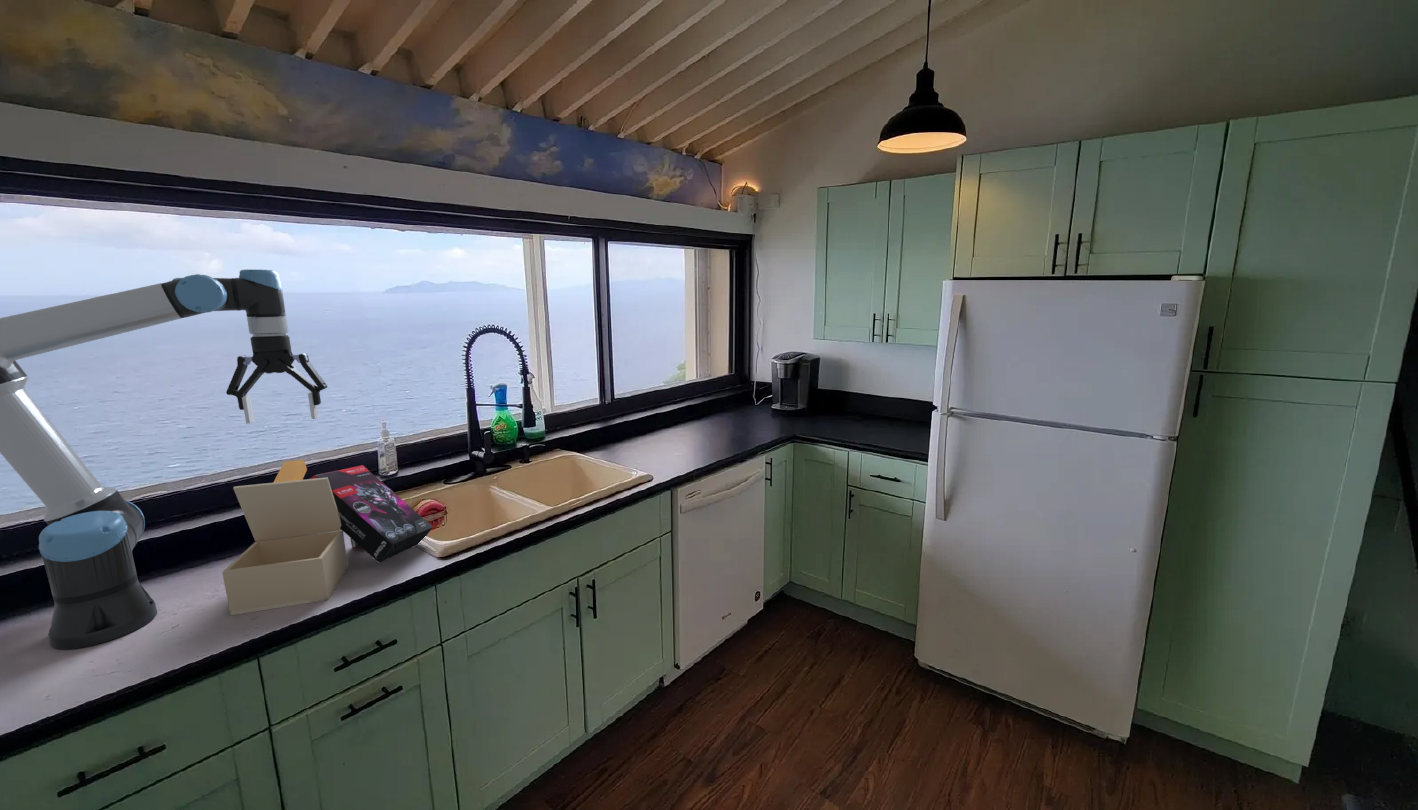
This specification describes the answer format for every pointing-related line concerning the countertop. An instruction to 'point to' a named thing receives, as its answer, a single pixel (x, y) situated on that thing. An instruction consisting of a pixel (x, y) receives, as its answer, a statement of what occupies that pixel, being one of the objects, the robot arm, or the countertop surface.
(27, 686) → the countertop surface
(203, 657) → the countertop surface
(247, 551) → the carton
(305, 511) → the carton flap
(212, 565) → the countertop surface
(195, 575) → the countertop surface
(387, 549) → the graphics card box
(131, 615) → the robot arm
